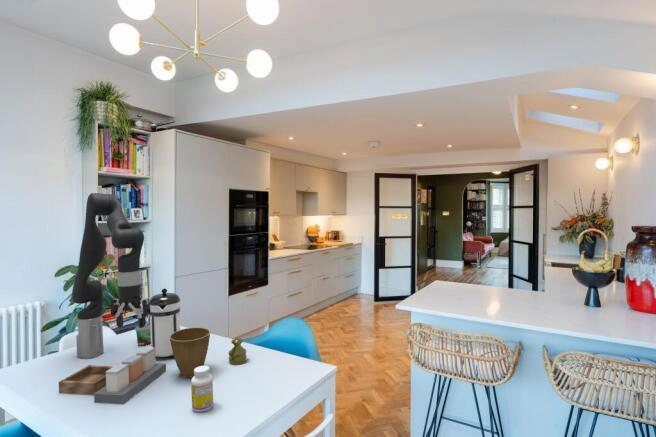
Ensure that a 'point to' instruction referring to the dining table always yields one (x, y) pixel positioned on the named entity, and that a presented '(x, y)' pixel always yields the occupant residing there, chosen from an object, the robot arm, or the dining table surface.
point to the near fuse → (117, 378)
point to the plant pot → (190, 349)
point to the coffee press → (164, 321)
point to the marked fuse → (134, 366)
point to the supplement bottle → (202, 389)
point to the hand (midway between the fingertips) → (131, 327)
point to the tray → (85, 380)
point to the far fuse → (148, 358)
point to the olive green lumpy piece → (237, 352)
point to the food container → (143, 335)
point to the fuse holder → (130, 387)
